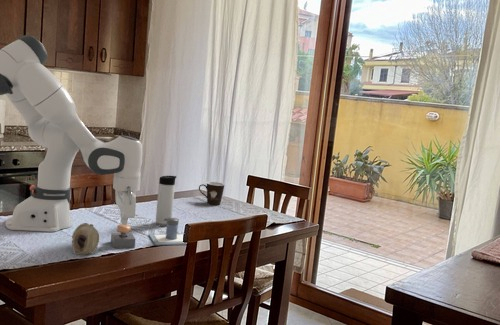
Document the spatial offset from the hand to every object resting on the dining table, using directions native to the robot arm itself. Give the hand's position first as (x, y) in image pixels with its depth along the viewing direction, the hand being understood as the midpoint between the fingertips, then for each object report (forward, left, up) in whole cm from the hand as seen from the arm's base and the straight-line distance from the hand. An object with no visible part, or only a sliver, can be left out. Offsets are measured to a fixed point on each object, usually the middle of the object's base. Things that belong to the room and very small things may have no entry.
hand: (123, 223), depth 178 cm
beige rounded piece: (-13, -7, -8) cm, 16 cm away
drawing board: (+18, +4, -7) cm, 20 cm away
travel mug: (+20, +24, -8) cm, 32 cm away
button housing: (0, 0, -7) cm, 7 cm away
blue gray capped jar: (+18, +4, -7) cm, 20 cm away
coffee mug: (+52, +60, -8) cm, 80 cm away
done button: (0, 0, -6) cm, 6 cm away
